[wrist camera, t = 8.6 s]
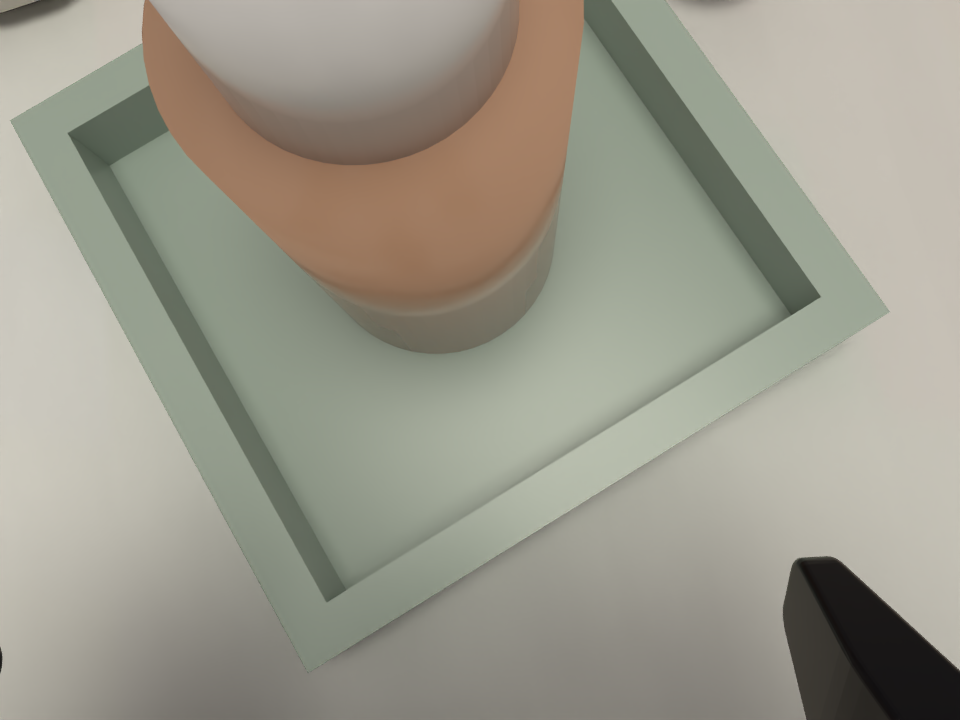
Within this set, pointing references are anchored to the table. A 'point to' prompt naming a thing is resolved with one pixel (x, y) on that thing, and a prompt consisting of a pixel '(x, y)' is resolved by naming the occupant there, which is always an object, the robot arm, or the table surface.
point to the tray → (466, 374)
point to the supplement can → (13, 4)
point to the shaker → (384, 145)
